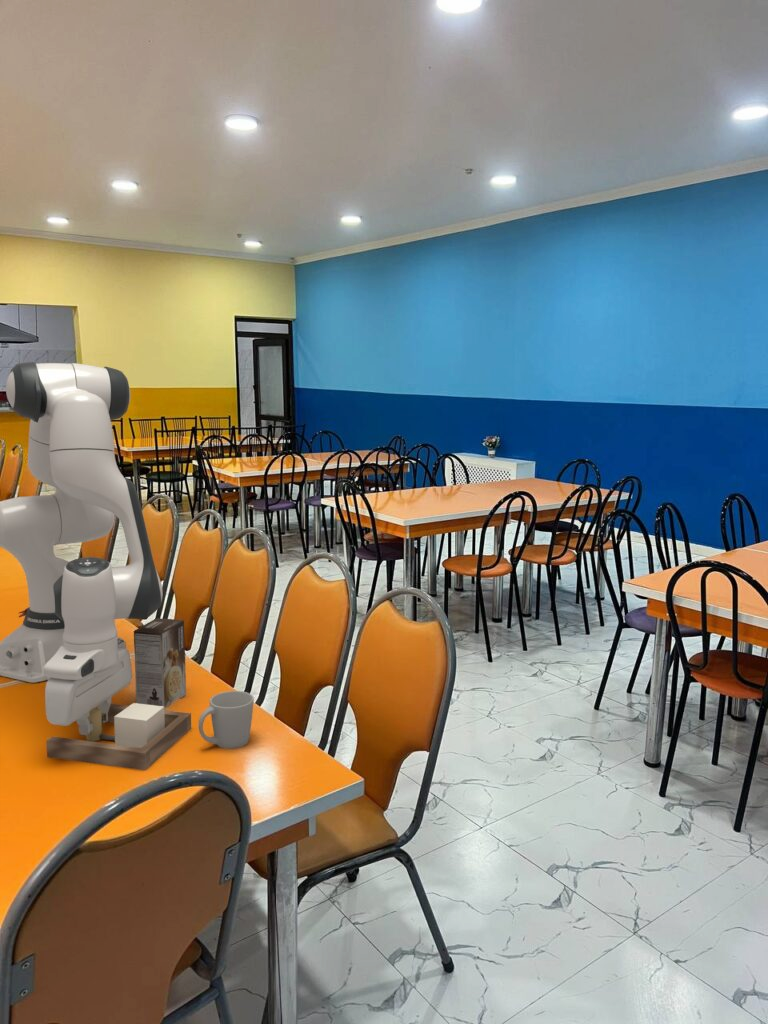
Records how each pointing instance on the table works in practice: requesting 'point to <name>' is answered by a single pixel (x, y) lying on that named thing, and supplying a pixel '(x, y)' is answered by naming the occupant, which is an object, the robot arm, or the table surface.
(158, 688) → the coffee box
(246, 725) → the cup
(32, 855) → the table surface
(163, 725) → the white cube and knob
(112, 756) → the shelf lane
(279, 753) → the table surface
